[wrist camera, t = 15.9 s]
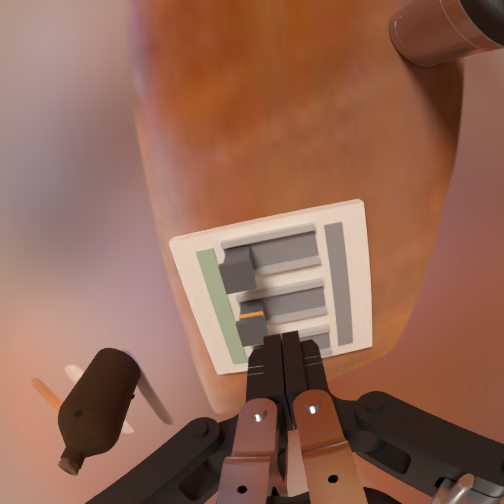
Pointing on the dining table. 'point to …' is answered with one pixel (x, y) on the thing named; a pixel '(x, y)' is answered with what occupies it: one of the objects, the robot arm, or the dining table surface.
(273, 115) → the dining table surface
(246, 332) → the breaker handle
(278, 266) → the switch board
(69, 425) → the olive oil
